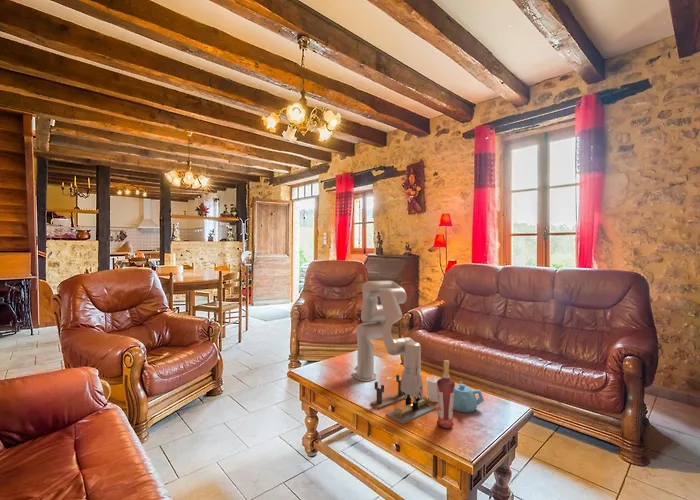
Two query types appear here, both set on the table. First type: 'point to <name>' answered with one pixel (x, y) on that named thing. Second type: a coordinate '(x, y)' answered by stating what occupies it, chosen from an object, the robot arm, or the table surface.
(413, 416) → the mat
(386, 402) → the rack
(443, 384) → the liquor
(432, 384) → the white cup
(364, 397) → the table surface
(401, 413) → the rail
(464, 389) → the teapot
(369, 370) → the robot arm
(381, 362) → the table surface
